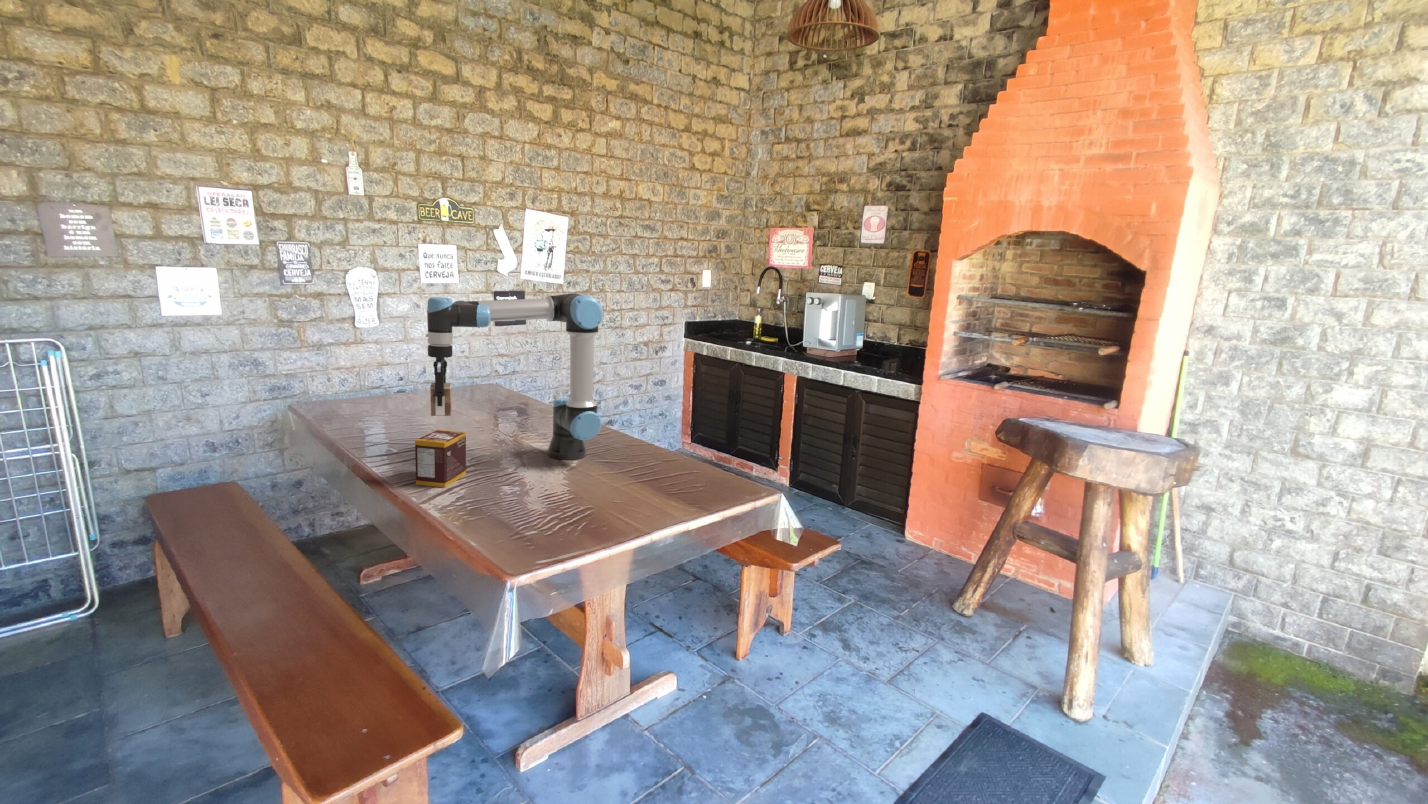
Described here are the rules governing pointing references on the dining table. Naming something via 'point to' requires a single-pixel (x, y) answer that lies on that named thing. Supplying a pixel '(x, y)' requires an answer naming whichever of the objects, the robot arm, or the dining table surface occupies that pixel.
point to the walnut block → (446, 400)
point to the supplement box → (440, 458)
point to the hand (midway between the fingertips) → (440, 412)
